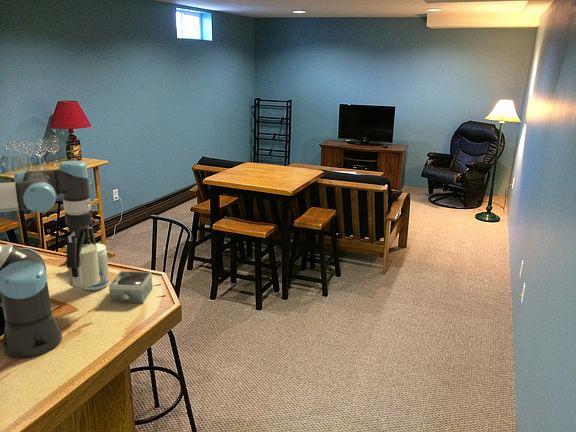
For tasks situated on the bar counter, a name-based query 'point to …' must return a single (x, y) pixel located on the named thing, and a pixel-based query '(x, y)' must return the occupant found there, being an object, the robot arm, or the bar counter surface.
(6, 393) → the bar counter surface
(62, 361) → the bar counter surface
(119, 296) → the grey open box
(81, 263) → the can
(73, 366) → the bar counter surface
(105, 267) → the supplement tub
